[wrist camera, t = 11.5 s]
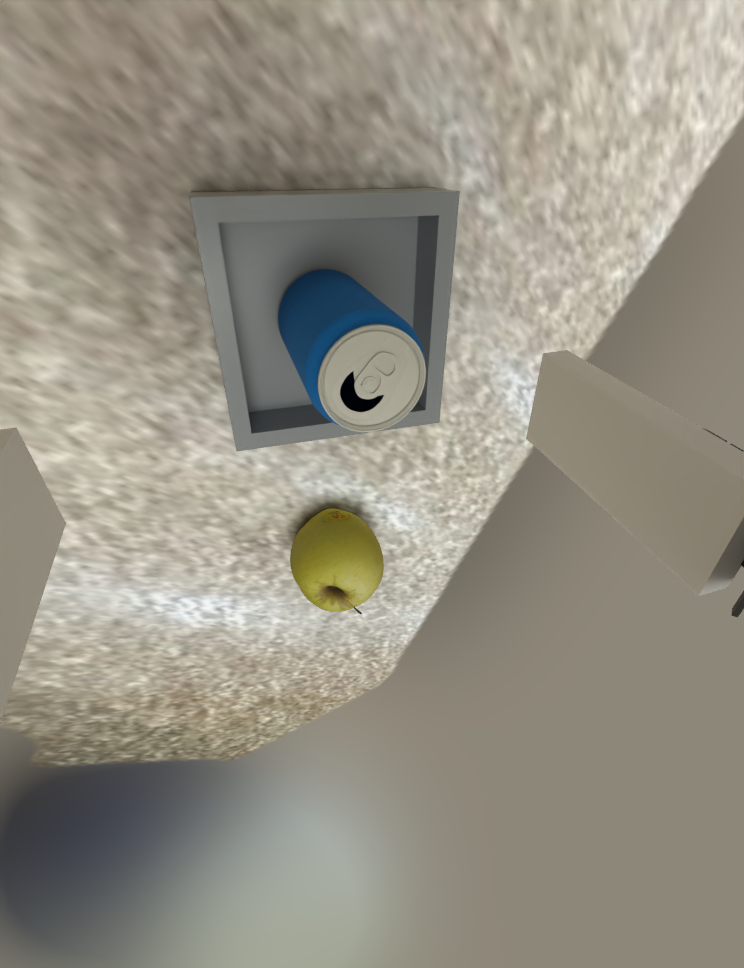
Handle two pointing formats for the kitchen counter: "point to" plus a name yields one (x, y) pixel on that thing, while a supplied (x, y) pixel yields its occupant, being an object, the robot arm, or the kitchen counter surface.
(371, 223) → the bin
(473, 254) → the kitchen counter surface
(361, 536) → the apple
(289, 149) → the kitchen counter surface
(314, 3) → the kitchen counter surface
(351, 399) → the beverage can
